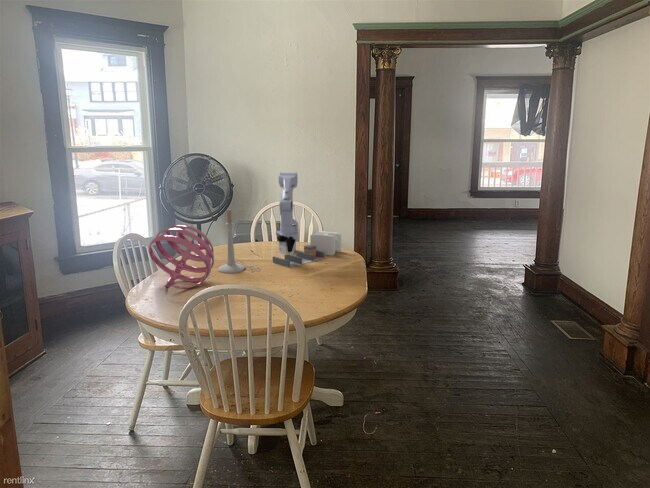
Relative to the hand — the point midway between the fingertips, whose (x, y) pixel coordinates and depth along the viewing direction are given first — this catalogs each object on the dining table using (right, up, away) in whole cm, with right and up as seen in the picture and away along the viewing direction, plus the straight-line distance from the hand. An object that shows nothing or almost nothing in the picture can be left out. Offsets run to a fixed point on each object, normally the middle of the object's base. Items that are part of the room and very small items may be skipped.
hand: (287, 251), depth 250 cm
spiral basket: (-42, -14, -29) cm, 53 cm away
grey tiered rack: (+6, -6, +7) cm, 11 cm away
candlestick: (-26, -9, -6) cm, 29 cm away
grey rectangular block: (0, -1, 0) cm, 1 cm away
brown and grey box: (+11, -3, +13) cm, 17 cm away
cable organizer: (+19, -2, +24) cm, 30 cm away
